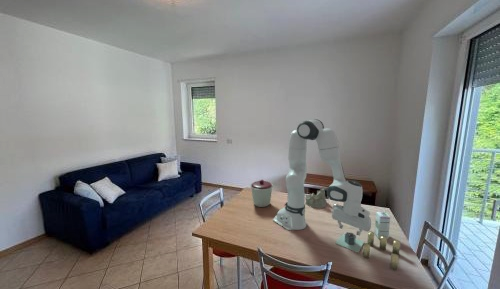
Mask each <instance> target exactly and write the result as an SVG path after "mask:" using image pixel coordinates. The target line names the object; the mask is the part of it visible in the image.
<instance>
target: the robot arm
mask: <svg viewBox="0 0 500 289" xmlns="http://www.w3.org/2000/svg"><path fill="white" fill-rule="evenodd" d="M308 140H310V141H316V143H317V146H318V147H317V149H318V154H319V157H320V158H321V160H322V162H325V163H326V164H328V165H329V166H330V168H331V172H332V177H333V182H332V183H331V184H330V185H329V186H328V187H327V189H326V195H327V197H328V198H329V199H330V200H331V201H333V202H338V203H339V202H340V203H343V205H340V204H338V203H337V204H333V205H332V214H331V217H332V220H335V221H337V223H338V225H339V227H338V228H339V229H343V227H344V224H345V225H349V226H351V227H354V228H356V229H359V230H357V231H356V234H355V235H356V236H360V235H361V233H362V232H363V231H365V232H369V231H371V229H372V220H371V217H370V216H371V212H370V211H369V210H368V209H366V208H364V207H362V203H361V202H362V199H363V191H364V190H363V185H362V184H361V183H360V182H359V181H357V180H353V179H348V180H347V178H346V176H345V173H344V168H343V163H342V159H341V152H340V146H339V141H338V138H337V135H336V132H335V130H334V129H332V128H329V127H327V128H325V124H324V123H323V122H322V121H321V120H319V119H316V118H313V119H312V118H311V119H310V118H309V119H307V120H303V121H302V122H300V123H299V124H298V125H297V129H294V130H292V132H290V136H289V140H288V157H287V160H288V164H289V171H288V173H287V174H286V176H285V185H286V191H287V202H285V203H284V204H283V208H280V209H279V210H278V211H277V213H276V215H275V216H274V217H273V222H274V223H276V224H277V223H278V225H279V226H281V227H282V226H283V227H282V228H284V229H285V230H287V231H295V230H296V231H300V230H303V229H305V228H306V227H307V221H306V216H305V213H306V204H305V203H306V199H305V198H306V195H305V181H306V178H307V143H308ZM342 223H343V224H342Z"/></svg>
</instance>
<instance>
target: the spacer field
mask: <svg viewBox="0 0 500 289" xmlns="http://www.w3.org/2000/svg"><path fill="white" fill-rule="evenodd" d="M379 239H380V240H379V246H378V247H379V249H380V250H381V251H386V249H387V242H388V239H387V237H386V236H380V238H379ZM374 240H375V231H372V230H369V231H368V233H367V241H366V242H364V244H363V252H362V258H364V259H365V260H369V259H370V257H371V256H370V255H371V247H373V246H374V242H375V241H374ZM392 242H393V243H392V251H391V252H392V253H391V254H390V255H391V256H390V262H389V263H390V264H389V268H390V270H392V271H394V272H396V271H398V267H399V258H400V249H401V241H399V240H398V239H393V241H392Z"/></svg>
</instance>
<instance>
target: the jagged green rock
mask: <svg viewBox="0 0 500 289" xmlns="http://www.w3.org/2000/svg"><path fill="white" fill-rule="evenodd" d="M327 203H328V202H327V199H326V192H325V188H320V190H316V194H315V193H314V192H312V193H309V194H306V195H305V202H304V204H305V206H308V207H310V206H311V207H310V208H315V209H323V207H324V208H326V206H327Z"/></svg>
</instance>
